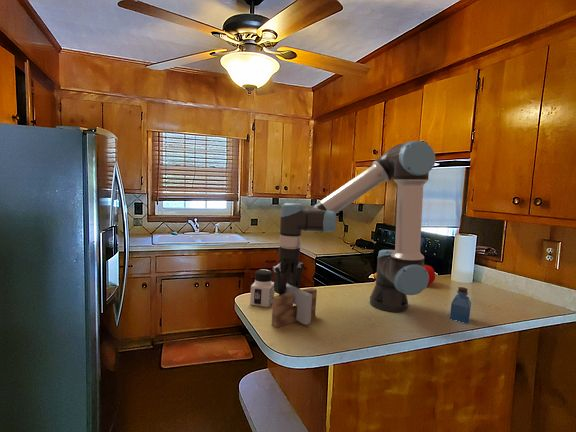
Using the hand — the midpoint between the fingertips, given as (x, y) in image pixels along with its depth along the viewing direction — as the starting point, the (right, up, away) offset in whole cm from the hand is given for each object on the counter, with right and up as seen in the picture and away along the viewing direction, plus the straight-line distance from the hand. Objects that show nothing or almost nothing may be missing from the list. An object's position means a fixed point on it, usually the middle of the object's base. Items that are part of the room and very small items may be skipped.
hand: (286, 310), depth 122 cm
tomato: (+69, -1, +49) cm, 84 cm away
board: (+3, -3, -3) cm, 5 cm away
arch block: (+3, -1, -3) cm, 5 cm away
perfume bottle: (+66, -5, +6) cm, 67 cm away
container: (-10, 0, +12) cm, 15 cm away
